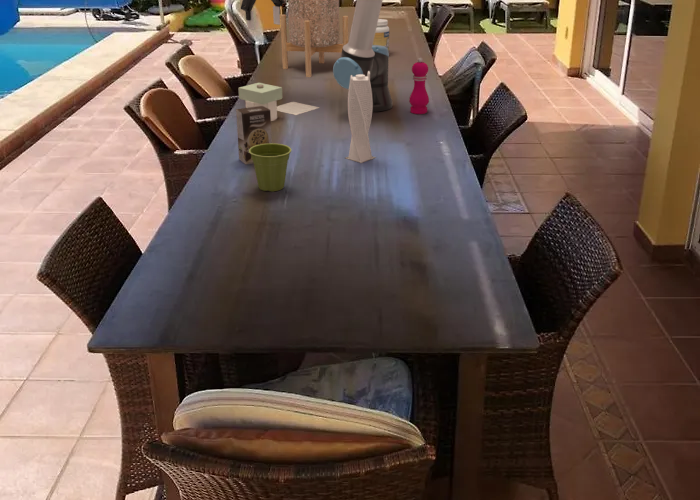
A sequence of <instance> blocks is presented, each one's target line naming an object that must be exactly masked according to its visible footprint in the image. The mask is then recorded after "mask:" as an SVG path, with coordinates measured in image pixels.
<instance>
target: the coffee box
mask: <svg viewBox="0 0 700 500" xmlns="http://www.w3.org/2000/svg"><path fill="white" fill-rule="evenodd" d="M235 112H236V113H235V114H236V128H237V129H236V130H237V133H236V134H237V148H238V149H237V150H238V159H239V160H240V161H241V162H242V163H243V164H244V165H252V164H253V165H254V163H253V160H252V156H251V154H250V153H249V149H250V148H251V147H253V146H255V145H260V144H269V143H273V141H272V121H271V115H270V110H269V109H268V108H266V107H264V106H257V107H249V108H246V107H242V108H236V109H235Z"/></svg>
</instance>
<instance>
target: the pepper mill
mask: <svg viewBox="0 0 700 500" xmlns="http://www.w3.org/2000/svg"><path fill="white" fill-rule="evenodd" d="M423 61H424V60H423V58H422V57H419V58H417V62H415V63H413V65H412V67H411V72H412V74H413V75H412V77H413V78H412V80H413V83H414V84H413V89H412V92H411V93H410V94H409V95H410V96H409V101H408V102H409V103H410V104H409V105H411V106H410V109H409V112H410V113H411V114H415V115H423V114H426V113H428V104H429V102H430V98H429V94H428V92H427V89H426V80H427V77H428V76H427V74H428V73H429V65H428V64H427V63H426V62H423Z"/></svg>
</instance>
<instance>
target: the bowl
mask: <svg viewBox="0 0 700 500" xmlns="http://www.w3.org/2000/svg"><path fill="white" fill-rule="evenodd" d="M277 101H278V100H276V101H272V102H269V103H265V104H259V103H255V102H250V101H246V100H244V102H245V108H249V107H257V106H264V107H266V108H268V109H269V110H270V115H271V122H274V121H276V120H278V111H277V106H278V104H277V103H278V102H277Z"/></svg>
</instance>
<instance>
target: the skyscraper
mask: <svg viewBox="0 0 700 500" xmlns="http://www.w3.org/2000/svg"><path fill="white" fill-rule="evenodd" d="M372 109H373V101H372V91H371V84H370V71H368V76H365V75H362V74H359V75H356V77H352V75H351V76H350V84H349V89H348V94H347V114H348V115H347V116H348V117H347V118H348V123H349V128H350V133H351V138H350V145H349V150H348V156H347V157H344V159H346V160H348V161H352V162H355V163H359V164H364V163H365V162H369V161H371V160H375V159H377V156H374V155H372V150H371V144H370V143H371V142H370V139H369V131H370V127H371V123H372V118H373V117H372V116H373V112H372Z"/></svg>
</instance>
